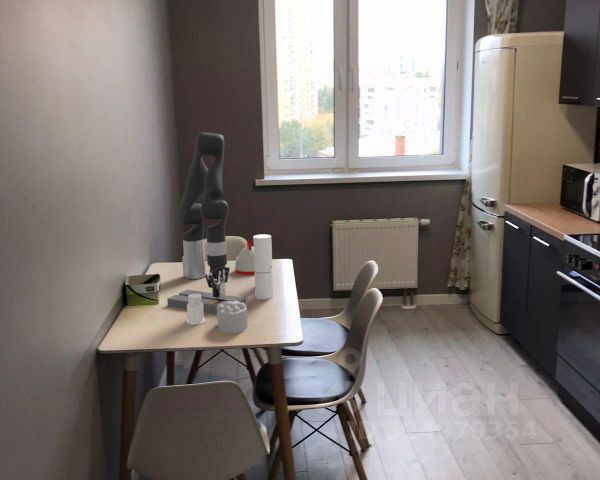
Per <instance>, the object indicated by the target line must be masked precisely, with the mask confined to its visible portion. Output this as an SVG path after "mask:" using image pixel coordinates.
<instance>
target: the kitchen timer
mask: <svg viewBox="0 0 600 480" xmlns="http://www.w3.org/2000/svg"><path fill="white" fill-rule="evenodd" d="M234 272H235V274H237V275H242V276H255V269H254V246H252V240H251V239H250V238H248V239H247V241H246V246H244V247H243V248H242V249H241V251H240V252H239V253H238V255H237V256H236V258H235V267H234Z"/></svg>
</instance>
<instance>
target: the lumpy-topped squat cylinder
mask: <svg viewBox="0 0 600 480" xmlns="http://www.w3.org/2000/svg"><path fill="white" fill-rule="evenodd" d="M216 316H217V329H218V331H219V332H221V333H224V334H228V335H229V334H232V335H233V334H239V333H242V332H244V331H246V330H247V329H248V310H247V304H246V305H245V304H244V303H241V302H239V301H226V302H223V303H222V304H219V305H218V306H217V313H216Z"/></svg>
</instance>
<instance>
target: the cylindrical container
mask: <svg viewBox="0 0 600 480" xmlns="http://www.w3.org/2000/svg"><path fill="white" fill-rule="evenodd" d="M252 241H253V247H254V269H255V275H254V289H255V291H254V292H255V294H254V295H255V298H256V299H257V300H269V299H271V298H273V297H274V284H273V283H274V281H273V279H274V278H273V253H272V251H273V250H272V249H273V248H272V245H273V244H272V235H270V234H265V233H263V234H256V235H253V239H252Z"/></svg>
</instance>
